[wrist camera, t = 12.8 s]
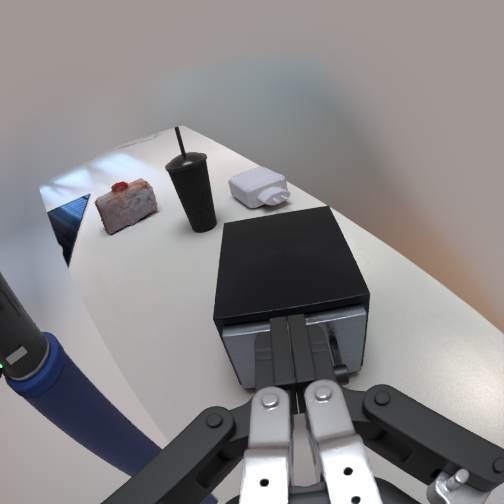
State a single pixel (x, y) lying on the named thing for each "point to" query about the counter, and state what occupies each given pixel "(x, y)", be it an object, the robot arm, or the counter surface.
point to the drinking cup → (193, 187)
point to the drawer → (330, 320)
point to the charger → (259, 187)
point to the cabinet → (285, 269)
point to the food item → (126, 204)
